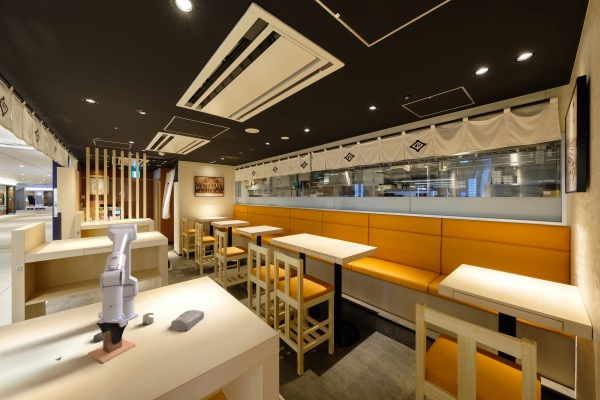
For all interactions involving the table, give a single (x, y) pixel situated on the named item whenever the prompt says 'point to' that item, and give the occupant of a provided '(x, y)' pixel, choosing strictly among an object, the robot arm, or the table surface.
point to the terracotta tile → (105, 356)
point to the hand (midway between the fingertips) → (112, 341)
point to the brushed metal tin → (148, 319)
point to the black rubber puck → (98, 337)
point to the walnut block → (110, 343)
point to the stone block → (187, 320)
